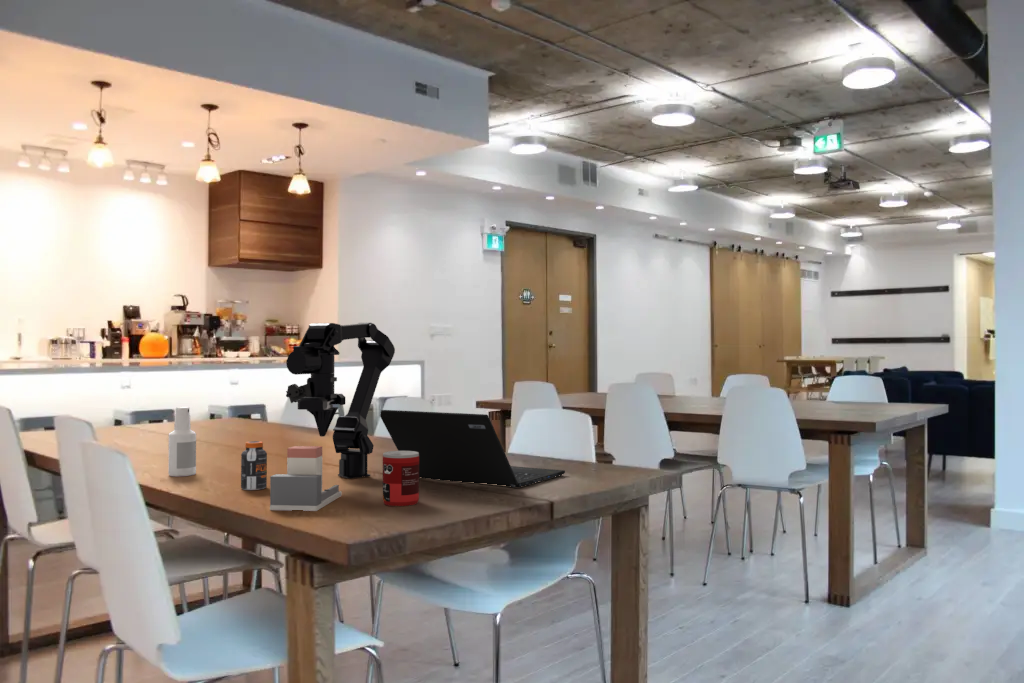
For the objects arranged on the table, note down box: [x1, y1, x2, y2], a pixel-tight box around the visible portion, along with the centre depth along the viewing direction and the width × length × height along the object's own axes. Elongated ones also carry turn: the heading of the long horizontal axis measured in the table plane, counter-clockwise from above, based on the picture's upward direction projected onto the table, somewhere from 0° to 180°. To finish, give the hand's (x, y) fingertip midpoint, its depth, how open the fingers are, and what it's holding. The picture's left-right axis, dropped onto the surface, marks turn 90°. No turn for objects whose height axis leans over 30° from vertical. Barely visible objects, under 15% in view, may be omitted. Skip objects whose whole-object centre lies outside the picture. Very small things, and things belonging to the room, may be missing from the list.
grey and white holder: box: [269, 473, 343, 512], centre depth 174 cm, size 17×10×7 cm, turn 175°
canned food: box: [382, 450, 420, 507], centre depth 173 cm, size 8×8×11 cm
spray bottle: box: [167, 406, 197, 478], centre depth 211 cm, size 7×7×18 cm
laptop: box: [379, 409, 566, 488], centre depth 203 cm, size 33×38×19 cm
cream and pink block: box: [286, 445, 323, 492], centre depth 172 cm, size 4×6×11 cm, turn 85°
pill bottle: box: [240, 440, 268, 491], centre depth 191 cm, size 6×6×11 cm
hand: (322, 436), depth 196 cm, fingers closed
